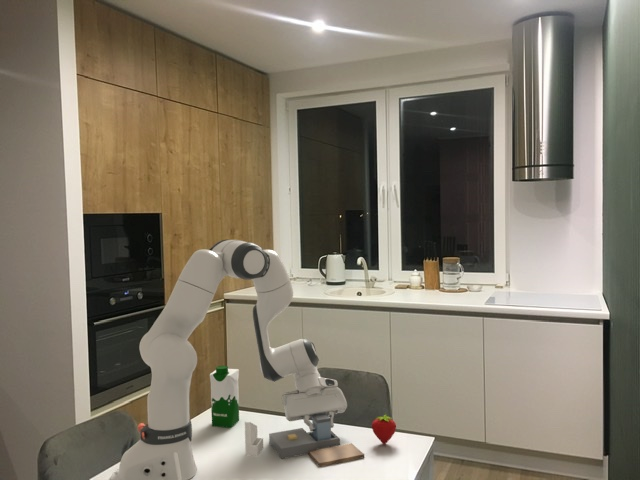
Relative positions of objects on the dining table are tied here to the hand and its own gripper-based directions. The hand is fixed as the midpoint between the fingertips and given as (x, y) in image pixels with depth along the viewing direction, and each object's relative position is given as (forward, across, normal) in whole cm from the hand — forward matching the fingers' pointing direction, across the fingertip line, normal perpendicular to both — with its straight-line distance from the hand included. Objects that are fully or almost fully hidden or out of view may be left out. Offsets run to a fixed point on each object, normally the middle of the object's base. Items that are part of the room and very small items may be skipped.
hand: (322, 428), depth 166 cm
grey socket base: (+3, -5, +4) cm, 7 cm away
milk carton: (-17, -24, +24) cm, 38 cm away
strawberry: (+9, +17, -3) cm, 20 cm away
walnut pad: (+10, 0, -4) cm, 11 cm away
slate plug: (+3, 0, +4) cm, 4 cm away
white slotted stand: (+2, -21, +5) cm, 22 cm away
